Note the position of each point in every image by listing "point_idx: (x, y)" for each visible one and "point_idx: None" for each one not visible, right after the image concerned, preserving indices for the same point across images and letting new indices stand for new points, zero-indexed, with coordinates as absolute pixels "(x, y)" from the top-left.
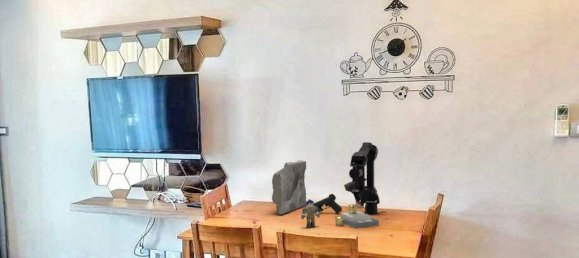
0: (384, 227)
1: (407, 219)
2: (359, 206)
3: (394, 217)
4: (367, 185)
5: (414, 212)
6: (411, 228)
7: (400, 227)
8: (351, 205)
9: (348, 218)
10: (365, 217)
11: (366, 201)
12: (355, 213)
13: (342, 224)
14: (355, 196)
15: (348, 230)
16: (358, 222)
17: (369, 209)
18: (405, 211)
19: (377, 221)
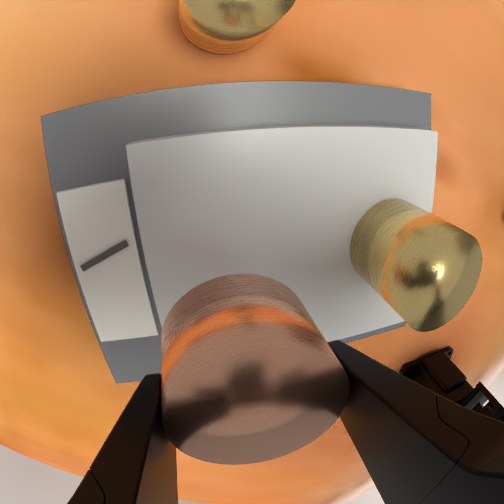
0: (53, 363)
1: (224, 482)
2: (165, 341)
3: (288, 454)
4: None
5: (323, 495)
6: (42, 448)
7: (57, 426)
8: (446, 268)
9: (266, 126)
10: (157, 310)
11: (480, 400)
12: (353, 262)
13: (181, 25)
14: (433, 449)
15: (9, 49)
16: (70, 185)
17: (428, 386)
18: (354, 477)
19: (113, 370)
